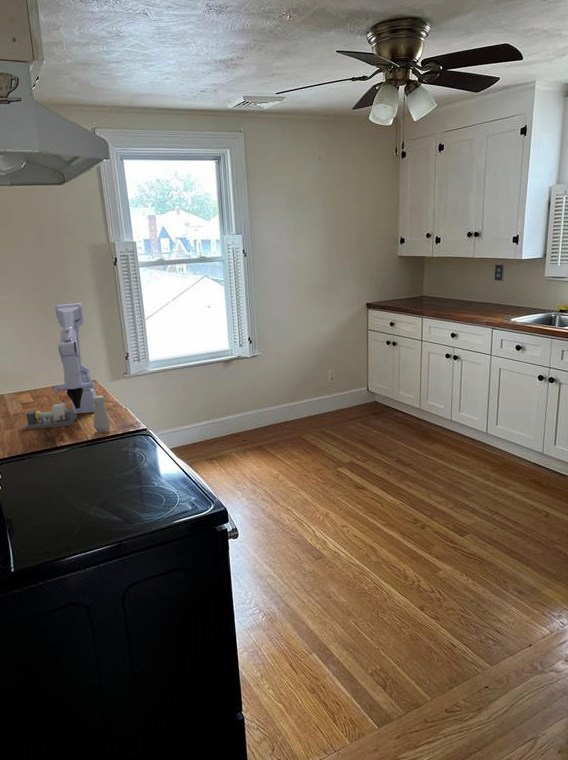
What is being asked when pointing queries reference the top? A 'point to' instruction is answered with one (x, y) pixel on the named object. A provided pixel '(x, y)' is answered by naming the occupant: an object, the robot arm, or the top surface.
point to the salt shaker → (100, 415)
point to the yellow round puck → (37, 415)
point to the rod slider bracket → (49, 420)
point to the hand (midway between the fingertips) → (78, 407)
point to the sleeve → (59, 411)
